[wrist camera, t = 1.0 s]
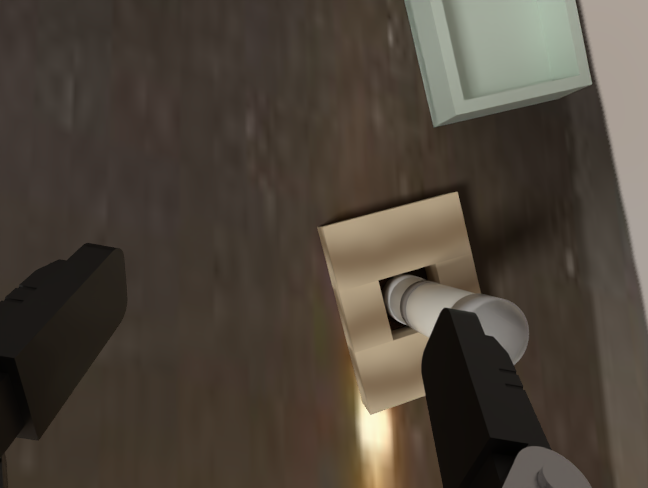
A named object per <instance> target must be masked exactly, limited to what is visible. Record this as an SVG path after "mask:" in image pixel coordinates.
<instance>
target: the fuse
mask: <svg viewBox="0 0 648 488" xmlns="http://www.w3.org/2000/svg"><path fill="white" fill-rule="evenodd" d="M382 297H383V301H384V305H385V309H386V313H387V314H388V315H389V316H390V317H392V318H393V319H395V320H397V321H398V322H400V323H402V324H405V325H408V326H409V327H411V328H412V329H414V330H416V331H417V332H419V333H421V334H423V335H425V336H427V337H428V338H429V337H430V335H431V333H432V330H433V328H434V326H435V323H436V321H437V319H438V316H439V314H440V312H441V310H442V309H443V308H452V309H457V310H463V311H468V312H474V313H476V315H477V316H478V318H479V321H480V323H481V326H482V328H483V331H484V333H485V335H488V336H493V337H494V338H495V339H496V340H497V341H498V342H499V343H500V344H501V346H502V347H503V348H504V349H505V350H506V351H507V352H508V354H509V356H510V358H511V360H512V363H513V365H515V364H516V363H517V362H518V361H519V360H520V358H521V357H522V355H523V354H524V352H525V350H526V347H527V344H528V339H529V327H528V323H527V320H526V317H525V315H524V314H523V312H522V311H521V309H520V308H519V307H518V306H517V305H515V304H514V303H512V302H510V301H508V300H505V299H501V298H497V297H493V296H490V295H486V294H480V293H472V292H468V291H465V290H461V289H457V288H454V287H450V286H446V285H442V284H440V283H436V282H433V281H428V280H425V279H423V278H420V277H417V276H413V275H410V274H399V275H396V276H394V277H392V278H390V279H389V280H388V281H387V282H386V284H385V285H384V287H383V290H382Z"/></svg>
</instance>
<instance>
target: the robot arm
mask: <svg viewBox="0 0 648 488" xmlns="http://www.w3.org/2000/svg"><path fill="white" fill-rule="evenodd" d="M126 307H127V286H126V274H125V262H124V254H123V251H122V250H121V249H119V248H114V247H108V246H102V245H97V244H91V243H86V244H84V245H83V246H82V247H81V248H79V249H78V250H77V251H76V252H75V253H74V254H73V255H72V256H71V257H70V258H69V259H68V260H67V261H66V260H60V259H59V260H57V261H55V262H53V263H50V264H48V265H46V266H44V267H42V268H40V269H38V270H36V271H35V272H34V273H32V274H31V275H30V276H29V277H28V278H27V279H26V280H24V281H23V282H22V283H21V284H20V285H19V288H15V289H14V290H13V291H12V292H11V293H10V294H9V295H7V296H6V297H5V300H4V301H1V302H0V488H8V478H7V463H6V456H5V451H6V450H7V449H8V447H9V446H10V445H11V443H12V442H13V441H14V439H15V438H16V437H18V438H25V439H31V440H38V441H39V439H40V438H41V436H42V435H43V433H44V432H45V431H46V429H47V428H48V426H49V425H50V423H51V422H52V420H53V419H54V418H55V416H56V415H57V413H58V412H59V410H60V409H61V408H62V406H63V405H64V403H65V402H66V400H67V399H68V397H69V396H70V395H71V393H72V392H73V390H74V389H75V387H76V386H77V385H78V383H79V382H80V380H81V379H82V377H83V376H84V374H85V373H86V372H87V370H88V369H89V367H90V366H91V364H92V363H93V362H94V360H95V359H96V357H97V356H98V354H99V353H100V351H101V350H102V349H103V347H104V346H105V344H106V343H107V341H108V340H109V339H110V337H111V336H112V334H113V333H114V331H115V330H116V328H117V327H118V326H119V324H120V323H121V321H122V319H123V317H124V314H125V311H126ZM421 374H422V379H423V385H424V390H425V395H426V400H427V405H428V410H429V416H430V421H431V426H432V431H433V436H434V442H435V447H436V452H437V457H438V462H439V468H440V473H441V478H442V483H443V488H592V487H591V486H590V484H589V482H588V481H587V479H586V478H585V477H584V475H583V474H582V473H581V472H580V471H579V470H578V469H577V467H575V466H574V465H573V464H572V463H571V462H570V461H569V460H567V459H566V458H565V457H563V456H561V455H560V454H558V453H556V452H554V451H552V450H551V448H550V445H549V443H548V441H547V439H546V437H545V434H544V432H543V430H542V428H541V425H540V423H539V421H538V419H537V416H536V414H535V412H534V410H533V407H532V405H531V403H530V401H529V398H528V396H527V394H526V392H525V390H523V385H522V383H521V381H520V378H519V376H518V375H516V369H515V367H514V365H513V363H512V360H511V358H510V356H509V354H508V352H507V351H506V350H505V349H504V348H503V347H502V346H501V344H500V343H499V342H498V341H497V340H496V339H495V338H494V337H493V336H488V335H485V333H484V331H483V328H482V326H481V323H480V321H479V318H478V316H477V315H476V313H474V312H468V311H463V310H457V309H452V308H443V309H442V310H441V312H440V314H439V316H438V319H437V321H436V323H435V326H434V328H433V330H432V333H431V335H430V337H429V340H428V342H427V344H426V347H425V349H424V352H423V356H422V363H421Z"/></svg>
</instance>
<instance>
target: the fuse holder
mask: <svg viewBox="0 0 648 488" xmlns="http://www.w3.org/2000/svg"><path fill="white" fill-rule="evenodd" d="M317 228H318V232H319V236H320V240H321V243H322V247H323V251H324V255H325V259H326V263H327V267H328V271H329V275H330V279H331V282H332V286H333V290H334V294H335V298H336V302H337V306H338V310H339V314H340V318H341V321H342V325H343V329H344V333H345V337H346V341H347V345H348V349H349V353H350V357H351V360H352V364H353V368H354V372H355V376H356V380H357V384H358V388H359V392H360V396H361V399H362V403H363V404H364V406H365V407H366V409H367V410H368V412H369V413H370V415H371V414H374V413H377V412H380V411H383V410H386V409H388V408H391V407H394V406H397V405H400V404H403V403H406V402H408V401H411V400H414V399H417V398H420V397H423V396H425V390H424V385H423V379H422V374H421V363H422V356H423V352H424V349H425V347H426V344H427V342H428V340H429V338H428V337H427V336H425V335H423V334H421V333H419V332H417V331H416V330H414V329H412V328H411V327H409V326H405V327H402V328H399V329H395V330H392V331H391V329H390V325H389V321H388V317H387V313H386V309H385V305H384V301H383V297H382V293H381V289H380V285H379V281H378V280H381V279H385V278H388V277H392V276H395V275H399V274H402V273H405V272H409V271H412V270H416V269H419V268H422V267H425V271H426V275H427V279H428V281H433V282H436V283H440V284H442V285H446V286H450V287H454V288H457V289H461V290H465V291H468V292H472V293H480V294H481V292H480V287H479V283H478V279H477V274H476V270H475V265H474V261H473V257H472V252H471V248H470V244H469V239H468V235H467V230H466V226H465V222H464V217H463V213H462V209H461V204H460V200H459V195H458V192H453V193H447V194H443V195H439V196H435V197H431V198H427V199H423V200H420V201H416V202H412V203H408V204H404V205H401V206H397V207H393V208H389V209H385V210H382V211H378V212H374V213H370V214H366V215H362V216H359V217H355V218H351V219H347V220H343V221H340V222H336V223H332V224H328V225H324V226H320V227H317Z"/></svg>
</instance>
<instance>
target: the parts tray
mask: <svg viewBox="0 0 648 488" xmlns="http://www.w3.org/2000/svg"><path fill="white" fill-rule="evenodd" d="M404 1H405V5H406V10H407V14H408V18H409V23H410V27H411V31H412V36H413V40H414V44H415V49H416V53H417V57H418V62H419V66H420V70H421V75H422V79H423V83H424V88H425V92H426V96H427V101H428V105H429V109H430V114H431V118H432V122H433V127H439V126H443V125H447V124H452V123H456V122H460V121H465V120H469V119H473V118H478V117H482V116H486V115H491V114H495V113H499V112H504V111H508V110H512V109H517V108H521V107H525V106H530V105H534V104H538V103H543V102H547V101H551V100H556V99H559V98H561V97H564V96H566V95H568V94H571V93H573V92H575V91H578V90H580V89H582V88H585V87H587V86H589V85H592V81H591V76H590V71H589V66H588V61H587V56H586V51H585V46H584V41H583V36H582V31H581V26H580V21H579V16H578V11H577V6H576V1H575V0H404Z"/></svg>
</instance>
